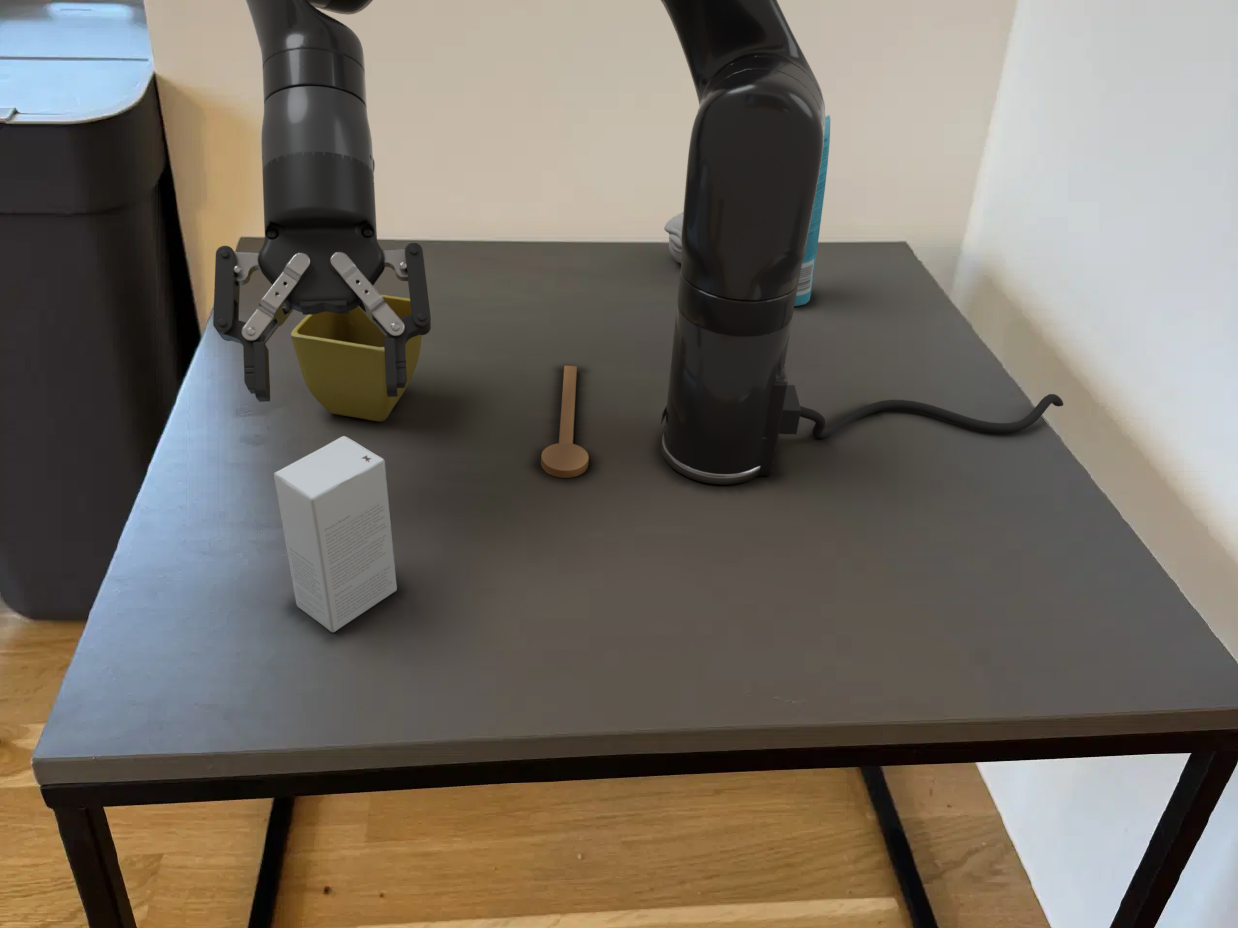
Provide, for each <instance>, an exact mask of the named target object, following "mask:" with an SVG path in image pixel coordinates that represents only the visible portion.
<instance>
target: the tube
mask: <svg viewBox="0 0 1238 928" xmlns="http://www.w3.org/2000/svg"><path fill="white" fill-rule="evenodd" d="M830 139H831V115H830V114H827V115H825V130H824V144H823V153H822V160H821V166H820V172H819V178H818V183H817V189H816V195H815V200H814V206H813V211H812V217H811V222H810V227H809V233H808V239H807V245H806V251H805V255H804V259H803V262H802V267H801V272H800V278H799V283H798V287H797V293H796V299H795V305H794V307H800V306H803V305H806V304H807V303H809V302H810V300H811V295H812V289H813V282H814V273H815V268H816V261H817V251H818V244H819V238H820V230H821V223H822V215H823V207H824V199H825V192H826V182H827V173H828V165H829V155H830V142H831V140H830Z"/></svg>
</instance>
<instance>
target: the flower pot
mask: <svg viewBox="0 0 1238 928" xmlns="http://www.w3.org/2000/svg"><path fill="white" fill-rule="evenodd" d="M380 295H381V296H382V297H383V298H384V300H385V302H386V303H387V304H388V306H389V307H390V308H391V309H392V310H393V311H394V312H395V314H396V315H397V316H398V317H399V318H403V317H405V316H408V315H410V314H412V311H411V303H410V298H408V297H402V296H401V297H400V296H392V295H388V294H381V293H380ZM422 336H423V335H418V336H415V337H412V338H410V339H409V340H408V341H407V343H406V346H405V352H406V371H407V382H406V385H405V388H397V393H398V397H387V389H386V371H385V351H384V338H387V337H386V336H385V335H384V334H383V333H382V332H381V331H380V329H379V328H378V327H377V326H376V325H375V324H374V323H372V322H371V321H370V320H369V318H368V317H367V316H366V315H365V314H364V313H363V312H362V310H361V309H360V308H359V307H357V308H355V309H353V310H351V311H349V314H336V313H332V312H327V311H325V312H321V313H318V314H314V315H305V317H304V318H302V320H301V321H300V322H299V323H298V324H297V325H296V326H294V328H293V330H292V331H291V332H290V338H291V340H292V346H293V348H294V352H295V355H296V358H297V362H298V365H299V366H298V367H299V369H300V372H301V374H302V378H303V380H304V383H305V385H306V387H307V389H308V390H309V392H310V393H311V395H312V396H313V397H314V398H315V400H316V401H317V402H318V403H319V404H320V405H321V406H322V407H323V408H324V409H325V410H327V411H328V412H329V413H331V414H334V415H339V416H345V417H350V418H351V417H352V418H357V419H362V420H368V421H374V422H384V421H385V420H387V418H388V417H389V415H390V414H391V412H392V411H393V409H394V407H395V406H396V404H397V403H398V401H399V400H400V399H401V398H402V396H403V395H404V393H405V391H406V389H407V387H408V385H409V384H410V381H411V379H412V378H413V375H414V373H415V370H416V368H417V364H418V363H419V357H420V353H421V348H422V347H421V346H422Z"/></svg>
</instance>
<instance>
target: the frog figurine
mask: <svg viewBox="0 0 1238 928" xmlns="http://www.w3.org/2000/svg"><path fill="white" fill-rule="evenodd" d="M682 222H683V212H680V213H678V214H676V215H675V216H672V218H670V219H669V220H668V221H667V222H666V223H665V225H664V226H663V229H664V231H665V232H666V233H668V248H669V251H670V254H671V256H672V258H673V259H674V260H675V261H676V262H678V264H681V261H682V242H681V233H682Z"/></svg>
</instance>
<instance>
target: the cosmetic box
mask: <svg viewBox="0 0 1238 928" xmlns="http://www.w3.org/2000/svg"><path fill="white" fill-rule="evenodd" d="M273 478H274V485H275V491H276V495H277V501H278V507H279V513H280V519H281V524H282V529H283V536H284V541H285V546H286V553H287V558H288V564H289V570H290V575H291V582H292V587H293V593H294V599H295V604H296V606H297V608H299V609H300V610H301V611H303V612H304V613H305V614H307V615H308V616H309V617H311V618H312V619H313V620H315V621H316V622H317V623H319V624H320V625H322V626H323V627H324V628H325V629H327V630H328V631H329V632H330V633H335V632H336V631H338V630H339V629H341V628H342V627H344V626H346V625H347V624H348V623H350V622H351V621H353V620H355V619H356V618H357V617H359V616H360V615H362V614H364V613H365V612H366V611H368V610H370V609H371V608H372V607H374V606H376V605H377V604H378V603H380V602H381V601H383V600H384V599H386V598H388V597H389V596H391V595H392V594H394V593H395V592H396V591H398V589H397V588H398V585H397V576H396V575H397V574H396V566H395V556H394V544H393V534H392V525H391V523H392V522H391V513H390V503H389V491H388V482H387V469H386V461H385V459H384V458H382V457H381V456H380V455H377V454H376V453H374V452H372V451H371V450H369V449H368V448H365V447H364V446H362V445H361V444H359V443H358V442H356V441H354V440H353V439H351V438H350V437H348V436H345V435H343V436H340V437H339V438H337V439H335V440H333V441H331V442H330V443H327V444H326V445H324V446H322V447H321V448H319V449H316V450H315V451H312V452H311V453H309V454H307V455H305V456H304V457H301V458H299V459H298V460H296V461H294V462H292V463H290V464H288V465H286V466H285V467H282V468H281V469H279V470H277V471H275V472H274V473H273Z"/></svg>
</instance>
